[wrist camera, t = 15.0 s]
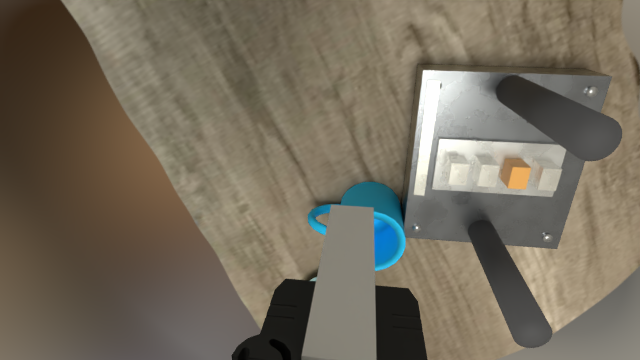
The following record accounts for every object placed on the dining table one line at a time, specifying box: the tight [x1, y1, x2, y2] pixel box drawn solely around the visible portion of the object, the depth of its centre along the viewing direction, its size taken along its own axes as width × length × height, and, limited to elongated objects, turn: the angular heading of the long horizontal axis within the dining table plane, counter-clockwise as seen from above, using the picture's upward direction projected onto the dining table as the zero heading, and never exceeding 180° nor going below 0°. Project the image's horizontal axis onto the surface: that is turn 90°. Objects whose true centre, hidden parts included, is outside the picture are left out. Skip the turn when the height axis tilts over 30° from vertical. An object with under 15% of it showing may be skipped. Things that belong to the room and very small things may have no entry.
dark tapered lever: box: [496, 75, 622, 161], centre depth 32 cm, size 3×3×16 cm
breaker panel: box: [401, 64, 612, 249], centre depth 43 cm, size 20×18×8 cm
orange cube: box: [501, 159, 531, 189], centre depth 41 cm, size 2×2×2 cm
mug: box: [308, 182, 405, 271], centre depth 49 cm, size 12×8×8 cm
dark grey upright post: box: [468, 220, 552, 348], centre depth 39 cm, size 3×3×16 cm
